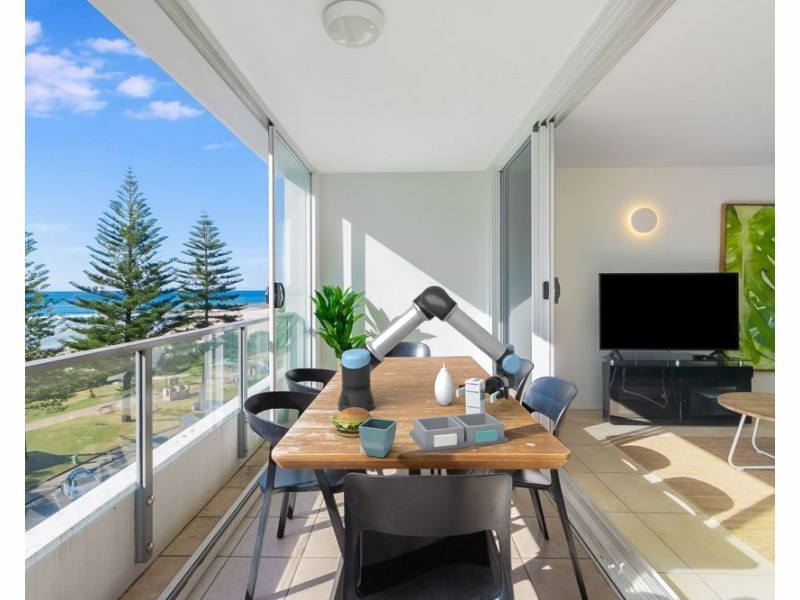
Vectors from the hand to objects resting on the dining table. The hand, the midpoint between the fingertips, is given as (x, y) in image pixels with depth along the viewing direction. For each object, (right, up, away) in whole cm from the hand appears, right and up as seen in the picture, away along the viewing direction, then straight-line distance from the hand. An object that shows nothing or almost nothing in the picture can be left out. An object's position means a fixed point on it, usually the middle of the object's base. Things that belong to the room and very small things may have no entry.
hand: (473, 396), depth 145 cm
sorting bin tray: (-9, -9, -18) cm, 21 cm away
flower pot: (-33, -10, -29) cm, 46 cm away
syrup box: (+1, -9, +2) cm, 9 cm away
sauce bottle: (-9, -9, +20) cm, 24 cm away
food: (-43, -10, -11) cm, 46 cm away
